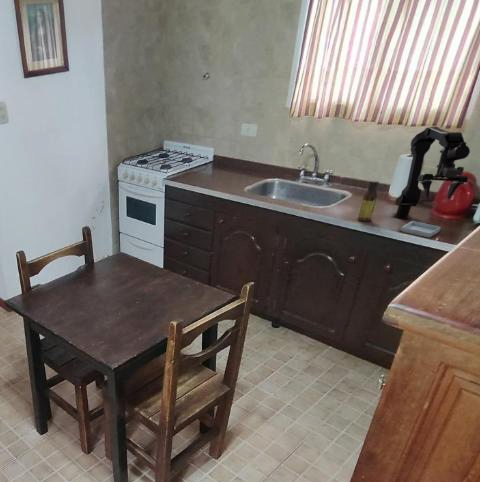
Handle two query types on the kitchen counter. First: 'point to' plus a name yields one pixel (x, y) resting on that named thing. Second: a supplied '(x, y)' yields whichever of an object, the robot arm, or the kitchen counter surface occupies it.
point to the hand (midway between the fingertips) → (437, 198)
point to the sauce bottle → (369, 202)
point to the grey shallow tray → (420, 229)
